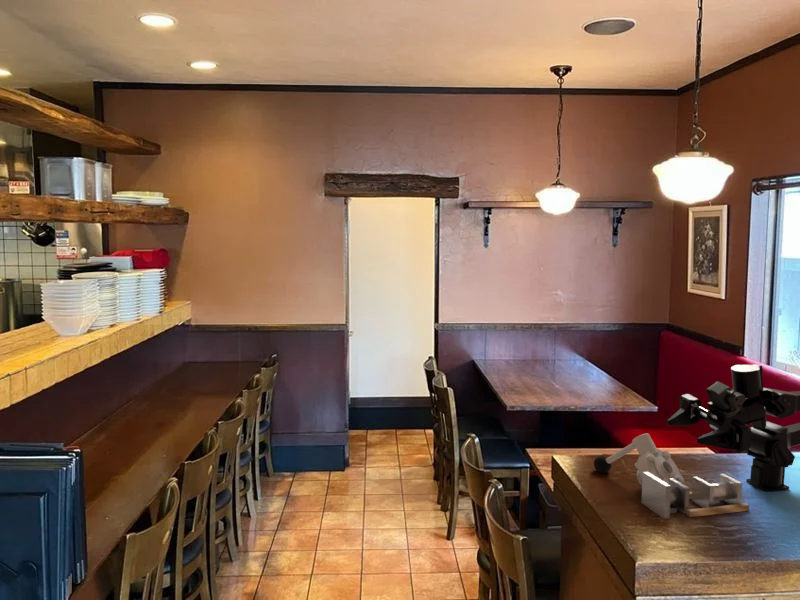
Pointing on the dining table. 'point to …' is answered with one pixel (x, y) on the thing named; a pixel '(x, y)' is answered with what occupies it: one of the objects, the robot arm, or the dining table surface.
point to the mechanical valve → (644, 460)
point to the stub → (664, 495)
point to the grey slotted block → (716, 491)
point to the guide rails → (716, 509)
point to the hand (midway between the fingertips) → (682, 431)
